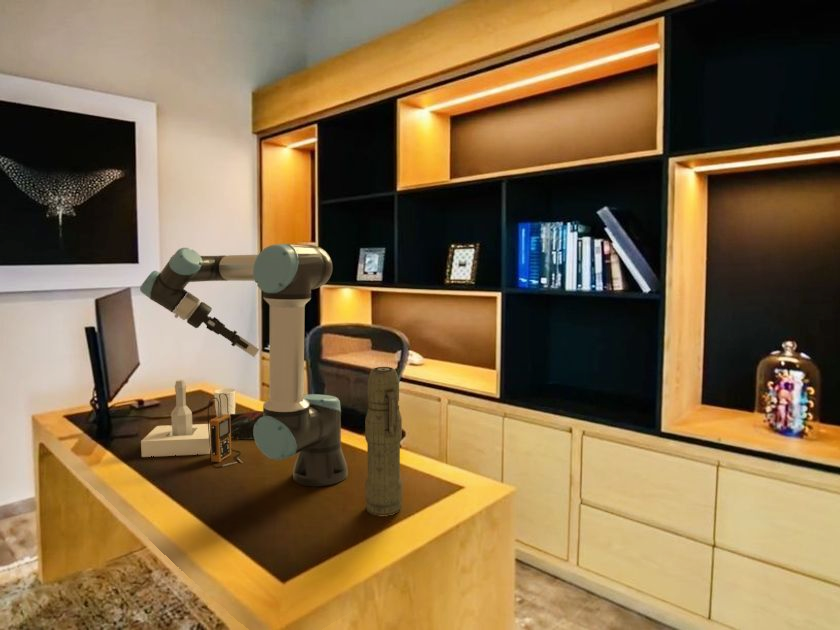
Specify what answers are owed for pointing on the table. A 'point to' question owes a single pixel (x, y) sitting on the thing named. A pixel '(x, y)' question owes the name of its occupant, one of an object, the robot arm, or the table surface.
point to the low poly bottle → (181, 412)
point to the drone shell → (244, 424)
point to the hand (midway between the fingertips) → (254, 351)
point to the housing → (176, 442)
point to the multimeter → (220, 436)
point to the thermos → (383, 442)
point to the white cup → (225, 400)
